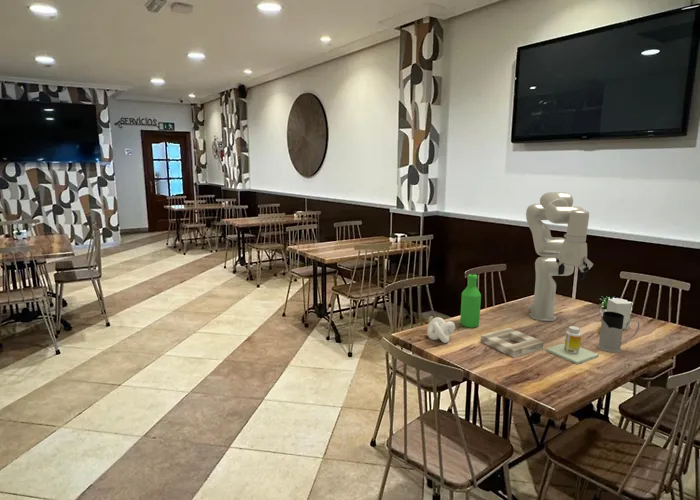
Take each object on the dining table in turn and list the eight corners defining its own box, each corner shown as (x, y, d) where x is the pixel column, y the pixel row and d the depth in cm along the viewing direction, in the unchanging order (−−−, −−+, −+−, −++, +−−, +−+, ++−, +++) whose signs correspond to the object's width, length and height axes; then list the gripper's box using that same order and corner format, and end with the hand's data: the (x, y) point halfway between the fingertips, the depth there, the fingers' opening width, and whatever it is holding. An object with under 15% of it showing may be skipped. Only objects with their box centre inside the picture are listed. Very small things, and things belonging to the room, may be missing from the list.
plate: (545, 350, 183) (546, 348, 182) (567, 344, 189) (567, 342, 189) (577, 364, 171) (577, 361, 170) (598, 356, 177) (599, 354, 177)
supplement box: (628, 329, 206) (632, 303, 204) (613, 329, 207) (616, 303, 204) (619, 323, 214) (623, 298, 211) (604, 323, 214) (607, 298, 211)
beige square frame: (480, 341, 192) (480, 335, 191) (509, 333, 200) (509, 327, 200) (513, 357, 176) (514, 350, 176) (543, 348, 185) (543, 341, 184)
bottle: (479, 323, 214) (482, 273, 208) (478, 329, 205) (481, 277, 200) (460, 320, 216) (463, 271, 211) (459, 327, 208) (462, 276, 203)
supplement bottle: (582, 352, 178) (585, 329, 176) (571, 354, 177) (574, 331, 174) (571, 347, 184) (573, 324, 181) (560, 349, 182) (563, 326, 180)
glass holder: (595, 342, 191) (599, 310, 188) (632, 346, 187) (637, 313, 184) (600, 351, 183) (604, 316, 180) (639, 355, 179) (644, 320, 176)
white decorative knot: (420, 339, 194) (421, 320, 192) (435, 331, 202) (436, 313, 201) (442, 346, 186) (444, 326, 184) (457, 338, 195) (458, 319, 193)
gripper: (552, 235, 191) (547, 273, 195) (589, 244, 176) (583, 284, 181) (563, 234, 195) (558, 271, 199) (601, 242, 180) (595, 281, 184)
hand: (570, 277), depth 190 cm, fingers open, 9 cm apart
